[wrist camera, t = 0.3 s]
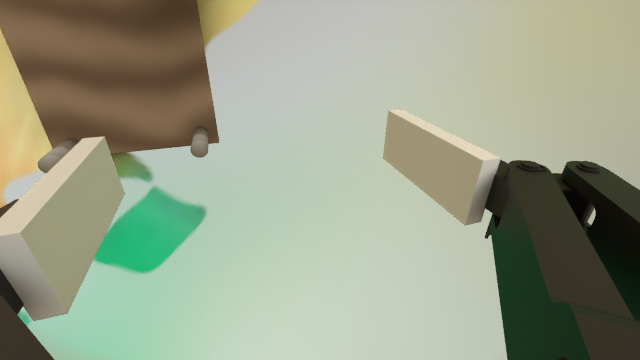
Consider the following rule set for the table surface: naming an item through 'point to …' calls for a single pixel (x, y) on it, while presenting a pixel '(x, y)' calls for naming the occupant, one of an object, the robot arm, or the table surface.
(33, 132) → the table surface
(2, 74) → the table surface
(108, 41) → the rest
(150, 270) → the table surface
